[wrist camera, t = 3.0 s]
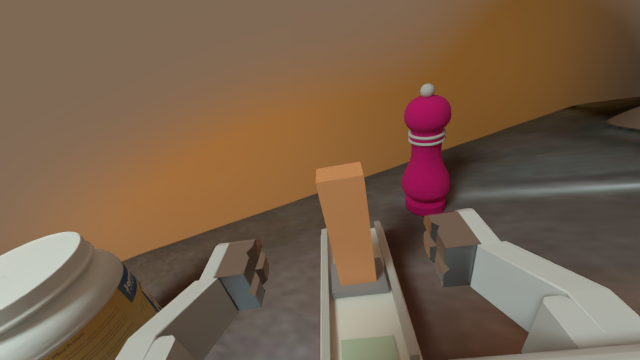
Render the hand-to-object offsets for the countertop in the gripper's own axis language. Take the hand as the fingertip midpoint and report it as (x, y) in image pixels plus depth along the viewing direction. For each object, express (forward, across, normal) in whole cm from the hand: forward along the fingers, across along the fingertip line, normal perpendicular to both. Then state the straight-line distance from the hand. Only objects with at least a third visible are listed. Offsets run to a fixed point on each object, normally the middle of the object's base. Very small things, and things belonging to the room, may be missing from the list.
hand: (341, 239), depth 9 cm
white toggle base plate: (+12, 0, +22) cm, 25 cm away
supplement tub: (+6, +28, +22) cm, 36 cm away
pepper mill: (+28, -13, +22) cm, 38 cm away
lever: (+12, 0, +19) cm, 22 cm away
